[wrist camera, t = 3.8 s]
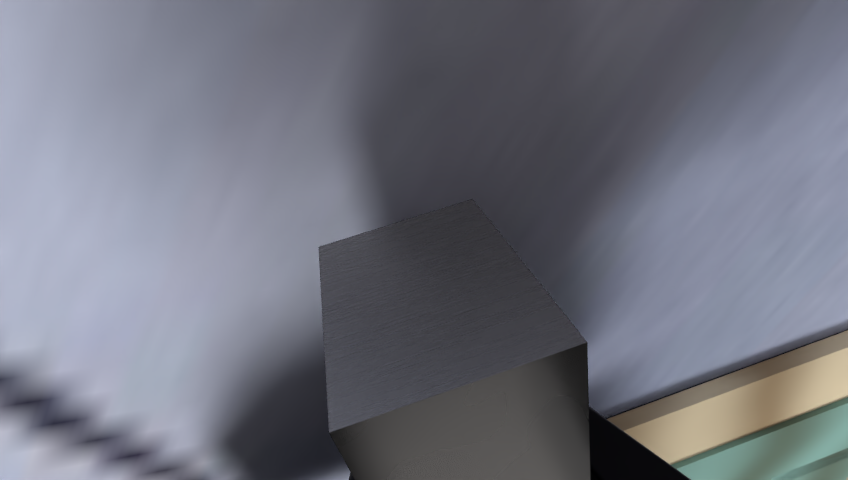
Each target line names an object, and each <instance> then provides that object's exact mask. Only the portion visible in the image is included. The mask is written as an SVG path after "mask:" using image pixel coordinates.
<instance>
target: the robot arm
mask: <svg viewBox="0 0 848 480" xmlns="http://www.w3.org/2000/svg"><path fill="white" fill-rule="evenodd" d="M589 441H590V480H691V479H689V478H688V477H687V476H685V475H684V474H683V473H681V472H680V471H678V470H677V469H676V468H674V467H673V466H671V465H670V464H669V463H667V462H666V461H664V460H663V459H662V458H660V457H659V456H657V455H656V454H655V453H653V452H652V451H650V450H649V449H648V448H646V447H645V446H644V445H642V444H641V443H639V442H638V441H637V440H635V439H634V438H632V437H631V436H630V435H628V434H627V433H625V432H624V431H623V430H621V429H620V428H618V427H617V426H616V425H614V424H613V423H611V422H610V421H609V420H607V419H606V418H605V417H603V416H602V415H600V414H599V413H598V412H596V411H595V410H593V409H592V408H591V407H589ZM349 480H355V479H354V477H353V475H352V473H350V476H349Z"/></svg>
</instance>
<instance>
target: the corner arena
mask: <svg viewBox="0 0 848 480" xmlns="http://www.w3.org/2000/svg"><path fill="white" fill-rule="evenodd" d="M607 420H609V421H610V422H611V423H613V424H614V425H616V426H617V427H618V428H620V429H621V430H623V431H624V432H625V433H627V434H628V435H630V436H631V437H632V438H634V439H635V440H637V441H638V442H639V443H641V444H642V445H644V446H645V447H646V448H648V449H649V450H650V451H652V452H653V453H655V454H656V455H657V456H659V457H660V458H662V459H663V460H664V461H666V462H667V463H669V464H670V465H671V466H673V467H674V468H676V469H677V470H678V471H680V472H681V473H683V474H684V475H685V476H687V477H688V478H689V479H691V480H848V330H847V331H844V332H842V333H839V334H836V335H834V336H831V337H828V338H825V339H823V340H820V341H817V342H815V343H812V344H809V345H806V346H804V347H801V348H798V349H796V350H793V351H790V352H787V353H785V354H782V355H779V356H777V357H774V358H771V359H768V360H766V361H763V362H760V363H758V364H755V365H752V366H749V367H747V368H744V369H741V370H739V371H736V372H733V373H730V374H728V375H725V376H722V377H719V378H717V379H714V380H711V381H709V382H706V383H703V384H700V385H698V386H695V387H692V388H690V389H687V390H684V391H681V392H679V393H676V394H673V395H671V396H668V397H665V398H662V399H660V400H657V401H654V402H652V403H649V404H646V405H643V406H641V407H638V408H635V409H633V410H630V411H627V412H624V413H622V414H619V415H616V416H614V417H611V418H608V419H607Z"/></svg>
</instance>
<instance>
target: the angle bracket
mask: <svg viewBox="0 0 848 480" xmlns="http://www.w3.org/2000/svg"><path fill="white" fill-rule="evenodd" d="M319 263H320V281H321V298H322V316H323V334H324V351H325V369H326V387H327V404H328V422H329V433H330V435H331V437H332V439H333V441H334V442H335V444H336V446H337V448H338V450H339V452H340V453H341V455H342V457H343V459H344V461H345V463H346V464H347V466H348V468H349V470H350V472H351V473H352V475H353V477H354V479H355V480H590V441H589V399H588V357H587V342H586V340H585V339H584V338H583V337H582V335H581V334H580V333H579V332H578V330H577V329H576V328H575V327H574V325H573V324H572V323H571V322H570V320H569V319H568V318H567V317H566V315H565V314H564V313H563V312H562V310H561V309H560V308H559V307H558V305H557V304H556V303H555V302H554V300H553V299H552V298H551V297H550V295H549V294H548V293H547V292H546V290H545V289H544V288H543V287H542V285H541V284H540V283H539V282H538V280H537V279H536V278H535V277H534V275H533V274H532V273H531V272H530V270H529V269H528V268H527V267H526V265H525V264H524V263H523V262H522V260H521V259H520V258H519V257H518V255H517V254H516V253H515V252H514V250H513V249H512V248H511V247H510V245H509V244H508V243H507V242H506V240H505V239H504V238H503V237H502V235H501V234H500V233H499V232H498V230H497V229H496V228H495V227H494V225H493V224H492V223H491V222H490V220H489V219H488V218H487V217H486V215H485V214H484V213H483V212H482V210H481V209H480V208H479V207H478V205H477V204H476V203H475V202H474V200H473V199H471V200H468V201H465V202H461V203H458V204H455V205H452V206H449V207H445V208H442V209H439V210H436V211H433V212H429V213H426V214H423V215H420V216H416V217H413V218H410V219H407V220H404V221H400V222H397V223H394V224H391V225H387V226H384V227H381V228H378V229H375V230H371V231H368V232H365V233H362V234H358V235H355V236H352V237H349V238H346V239H342V240H339V241H336V242H333V243H330V244H326V245H323V246H320V247H319Z"/></svg>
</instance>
